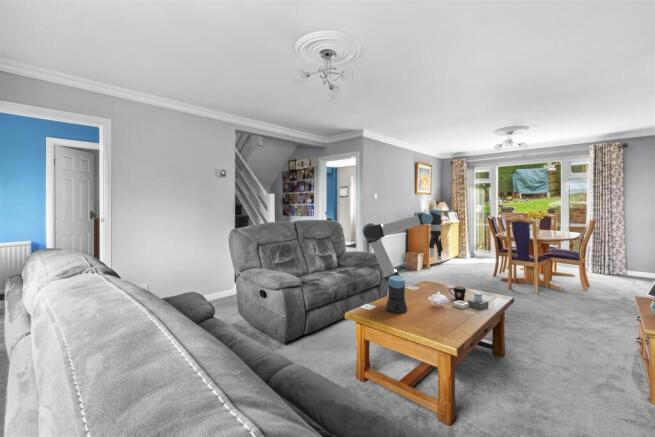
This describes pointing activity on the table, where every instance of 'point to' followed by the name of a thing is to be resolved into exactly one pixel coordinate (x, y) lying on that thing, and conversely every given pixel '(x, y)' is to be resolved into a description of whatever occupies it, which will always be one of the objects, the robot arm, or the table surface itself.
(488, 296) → the table surface
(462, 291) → the coffee mug
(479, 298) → the plug
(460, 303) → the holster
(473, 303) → the port block
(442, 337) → the table surface
